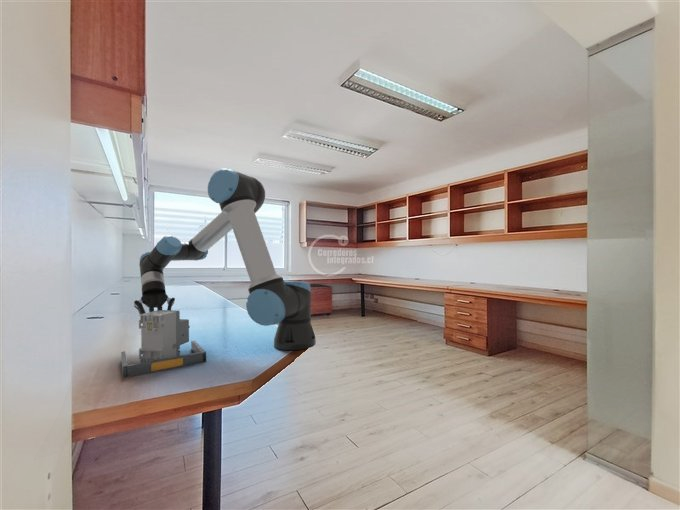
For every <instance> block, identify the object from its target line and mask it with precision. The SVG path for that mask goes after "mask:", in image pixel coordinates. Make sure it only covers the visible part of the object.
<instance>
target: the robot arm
mask: <svg viewBox="0 0 680 510" xmlns="http://www.w3.org/2000/svg"><path fill="white" fill-rule="evenodd" d="M210 176H211V177H210V178H209V181H208V184H207V193H208V197H209V199H210V200H211V201H213V202H214V203H216V204H219V207H220V210H221V212H220V213H219V214H218V215H217V216H216V217H214V218H213V219H212V220H211V221H210V222H209V223H208V224H207V225H205V227H204V228H202V229H201V230H200V231H199V232H198V233H197V234H196V235H194V237H192V239H190V240H189V241H185V242H183V241H181V240H180V239H179V238H178V237H175V236H173V235H169V234H168V235H164V236H163V237H162V238H161V239H160V240H159V241H158V242H157V243H156V245H154V247H153V249H152V250H151V251H147V252H145V253H143V254H141V256H140V258H139V273H140V284H141V297H140V299H139V300H134V301H133V307H134V308H135V309H136V310H137V311H138V313H139V315H140V314H144V313H147V312H146V310H145V308H144V306H143V305H145V307H147V308H148V312H153V311H155V308H156V311H157V310H163V306H164V304H165V303H166V302H167V303H166V304H167V308H166V310H172V306H173V305H175V300H176V298H175V297H169V295H168V294H167V292H166V286H165V278H164V269H165V268H166V267H168V265H169V264H170V263H171V262H172V261H175V262H176V261H201V260H204V259H206V258H207V257H208V256H207V255H208V254H209V249H211V248H212V247H213V246H214V245H215V244H217V243H218V242H219V241H220V240H222V238H224V237H225V236H226V235H228V233H230V231H233V233H234V236H235V237H234V238H235V240H236V242H237V246H238V248H239V252H240V254H241V257H242V261H243V263H244V266H245V269H246V273H247V274H248V278H249V280H250V281H249V282H250V284H249V286H248V287H247V288H248V289H247V290H248V293H249V295H248V296H247V299H246V300H247V301H246V304H245V305H246V306H245V307H246V311H247V314H248V316H249V317H250V319H251V320H252V321H253V322H254V323H256V324H258V325H259V326H264V327H267V326H273V325H275V326H276V325H277V328H276V332H275V335H274V338H273V346H274V348H276V349H278V350H282V351H300V350H305V349H309V348H313V347H314V346H315V345H317V344H316V341H317V340H316V334H315V331H314V329H313V325H312V323H311V322H312V320H311V319H312V317H311V316H312V313H311V312H312V309H311V307H312V306H311V305H312V304H311V301H312V299H311V296H312V291H311V284H310V283H309V282H307V281H292V280H284V277H283V276H281V275H279V274H277V271H276V269H275V266H274V263H273V261H272V258H271V255H270V253H269V250H268V249H269V248H268V246H267V244H266V240H265V239H264V235H263V232H262V230H261V227H260V224H259V220H258V218H257V216H256V213H257V212H258V211H259V210H260V209H261V208H262V206H263V205H264V202H265V199H266V189H265V187H264V185H263V184H262V182H261V181H259V180H258V179H257V178H255V177H253V176H249V175H247V174H244V173H241V172H239V171H236V170H234V169H229V168H220V169H218V170H216V171H215V172H214V173H212V175H210Z"/></svg>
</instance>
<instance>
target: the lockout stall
mask: <svg viewBox="0 0 680 510" xmlns="http://www.w3.org/2000/svg"><path fill="white" fill-rule="evenodd" d="M190 342H191V343H190V346H191V347H190V349H191V351H192V352H193V353H187V354H183V355H182V354H180V356H175V357H170V358H164V359H159V360H153V361H148V362H142V363H140V362H137V363H131V364H128V361H127V354H126V351H124V350H123V351H121V352H120V363H121V373H123V374H122V379H125V378H130V377H137V376H141V375H142V376H143V375H147V374H151V373H157V372H161V371H166V370H171V369H177V368H181V367H186V366H191V365H197V364H202V363H205V362H207V351H206V350H205V349H204V348H203V347H202V346H201V345H200V344H199V343H198V342H197V341H196V340H191V341H190Z"/></svg>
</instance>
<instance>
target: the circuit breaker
mask: <svg viewBox="0 0 680 510" xmlns="http://www.w3.org/2000/svg"><path fill="white" fill-rule="evenodd" d="M180 315H181V313H180V310H172V309H171V310H167V309H162V310H157V309H156V310H154V311H153V312H149V311H147V312H146V313H144V314H139V315H138V316H139V318H140V319H139V320H138V329H139V330H140V331H141V347H140V348H139V349H138V359H139V361H140V362H139V363H142V362H148V361H153V360H159V359H164V358H170V357H175V356H181V351H180V349H181V345H185V344H186V343H189V342H190V320H189V319H186V318H185V319H184V318H181V317H180Z"/></svg>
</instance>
